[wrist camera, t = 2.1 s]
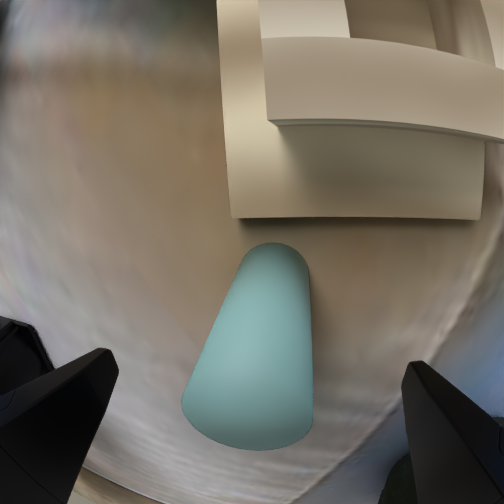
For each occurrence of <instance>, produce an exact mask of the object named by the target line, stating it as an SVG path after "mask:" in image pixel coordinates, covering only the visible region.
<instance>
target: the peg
mask: <svg viewBox="0 0 504 504" xmlns="http://www.w3.org/2000/svg"><path fill="white" fill-rule="evenodd" d="M181 404H182V410H183V412H184V415H185V417H186V418H187V420H188V421H189V422H190V423H191V425H192V426H193V427H195V428H196V429H197V430H198V431H199V432H201V433H202V434H203V435H205V436H207V437H208V438H210V439H212V440H214V441H216V442H218V443H221V444H224V445H227V446H230V447H234V448H238V449H244V450H256V451H261V450H273V449H279V448H282V447H286V446H289V445H291V444H293V443H295V442H297V441H299V440H300V439H302V438H303V437H304V436H305V435H306V434H307V433H308V432H309V430H310V428H311V426H312V423H313V358H312V328H311V306H310V288H309V272H308V267H307V264H306V262H305V260H304V259H303V257H302V256H301V255H300V254H299V253H298V252H297V251H296V250H295V249H293V248H291V247H290V246H287V245H284V244H281V243H265V244H261V245H258V246H256V247H254V248H253V249H251V250H250V251H249V252H248V253H247V254H246V255H245V256H244V258H243V260H242V262H241V264H240V266H239V268H238V271H237V273H236V275H235V277H234V280H233V282H232V284H231V287H230V289H229V291H228V293H227V296H226V298H225V300H224V302H223V305H222V307H221V309H220V311H219V314H218V316H217V318H216V320H215V323H214V325H213V327H212V329H211V332H210V334H209V336H208V339H207V341H206V343H205V345H204V348H203V350H202V352H201V354H200V357H199V359H198V361H197V364H196V366H195V368H194V370H193V373H192V375H191V377H190V380H189V382H188V384H187V386H186V389H185V391H184V393H183V396H182V400H181Z"/></svg>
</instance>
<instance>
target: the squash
mask: <svg viewBox="0 0 504 504" xmlns="http://www.w3.org/2000/svg"><path fill="white" fill-rule="evenodd" d="M493 419H495V420H496V421H497V422H498V423H499V424H500V426H503V427H504V418H503V417H493ZM378 504H418V497H417V490H416V483H415V477H414V471H413V465H412V460H411V454H410V453H409V454H408V455H406V456H404V457H403V458H402V459H400V460H399V461H398V462H397V463H396V464H395V465H394V467H393V468H392V470H391V472H390V473H389V475H388V478H387V480H386V483H385V486H384V489H383V490H382V493H381V495H380V498H379V501H378Z"/></svg>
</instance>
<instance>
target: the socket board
mask: <svg viewBox="0 0 504 504" xmlns="http://www.w3.org/2000/svg"><path fill="white" fill-rule="evenodd" d="M217 16H218V35H219V53H220V71H221V87H222V102H223V117H224V132H225V146H226V159H227V172H228V185H229V198H230V210H231V218H268V217H405V218H442V219H468V220H480V214H481V205H482V195H483V181H484V157H485V141H486V142H495V143H503V144H504V0H217Z"/></svg>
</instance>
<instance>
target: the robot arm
mask: <svg viewBox="0 0 504 504" xmlns="http://www.w3.org/2000/svg"><path fill="white" fill-rule="evenodd" d="M118 374H119V369H118V366H117V363H116V361H115V358H114V356H113V353H112V351H111V350H109V349H106V348H97V349H95V350H93V351H91V352H89V353H87V354H85V355H83V356H81V357H79V358H77V359H75V360H73V361H71V362H69V363H67V364H65V365H63V366H61V367H59V368H57V369H55V370H53V369H52V367H51V365H50V363H49V361H48V359H47V357H46V355H45V353H44V351H43V349H42V347H41V345H40V343H39V340H38V338H37V336H36V334H35V331H34V329H33V328H32V326H31V325H29V324H26V323H23V322H19V321H15V320H12V319H8V318H5V317H1V316H0V504H67V502H68V500H69V497H70V494H71V492H72V489H73V487H74V484H75V482H76V479H77V477H78V474H79V472H80V469H81V467H82V464H83V462H84V460H85V457H86V455H87V453H88V450H89V448H90V446H91V443H92V441H93V439H94V436H95V434H96V432H97V430H98V427H99V425H100V423H101V421H102V419H103V416H104V414H105V412H106V409H107V406H108V403H109V400H110V397H111V394H112V392H113V389H114V386H115V383H116V380H117V377H118ZM401 389H402V397H403V406H404V415H405V425H406V433H407V439H408V444H409V449H410V454H411V460H412V465H413V471H414V477H415V483H416V490H417V497H418V504H504V427H503V426H500V424H499V423H498V422H497V421H496V420H495V419H493V418H492V417H491V416H490V415H489V414H487V413H486V412H485V411H484V410H483V409H481V408H480V407H479V406H478V405H477V404H475V403H474V402H473V401H472V400H471V399H469V398H468V397H467V396H466V395H465V394H463V393H462V392H461V391H460V390H458V389H457V388H456V387H455V386H454V385H452V384H451V383H450V382H449V381H447V380H446V379H445V378H444V377H443V376H441V375H440V374H439V373H438V372H436V371H435V370H434V369H433V368H431V367H430V366H429V365H428V364H426V363H425V362H424V361H421V360H420V361H411V362H409V364H408V366H407V369H406V372H405V375H404V378H403V380H402V386H401Z"/></svg>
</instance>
